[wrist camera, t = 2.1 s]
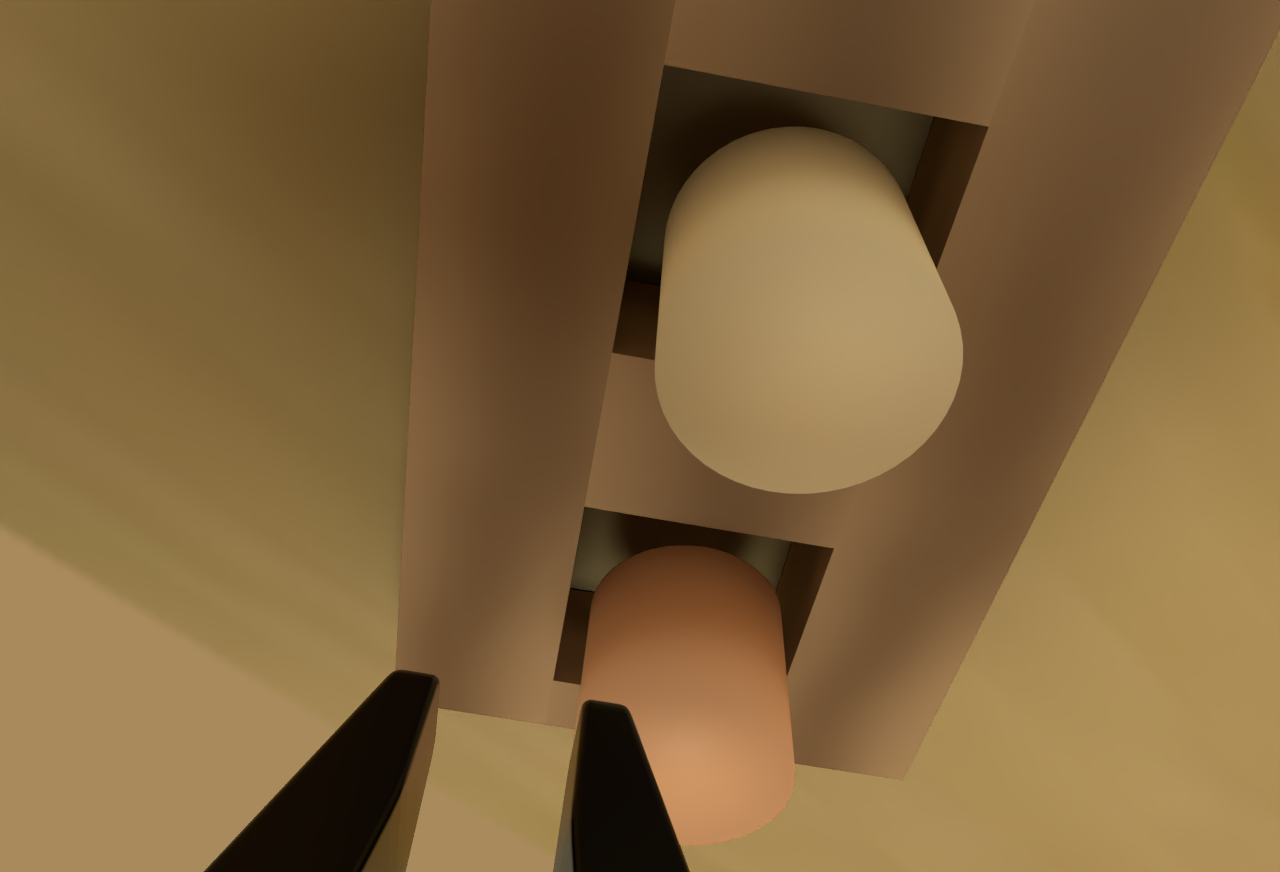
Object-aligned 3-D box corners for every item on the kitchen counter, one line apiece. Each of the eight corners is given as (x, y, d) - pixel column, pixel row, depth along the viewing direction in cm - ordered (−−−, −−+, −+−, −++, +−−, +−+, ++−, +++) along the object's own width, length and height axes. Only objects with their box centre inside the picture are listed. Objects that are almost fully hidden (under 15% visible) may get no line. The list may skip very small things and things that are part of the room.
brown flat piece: (423, 609, 26) (393, 701, 23) (533, -930, 12) (489, -1107, 9) (884, 683, 27) (902, 780, 24) (1501, -695, 13) (1696, -804, 10)
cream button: (644, 333, 18) (631, 467, 14) (690, 103, 16) (686, 202, 12) (869, 372, 18) (905, 514, 15) (945, 153, 16) (1009, 261, 12)
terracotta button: (578, 668, 23) (556, 827, 19) (605, 530, 20) (586, 683, 17) (756, 696, 23) (765, 859, 19) (802, 563, 20) (822, 720, 17)
